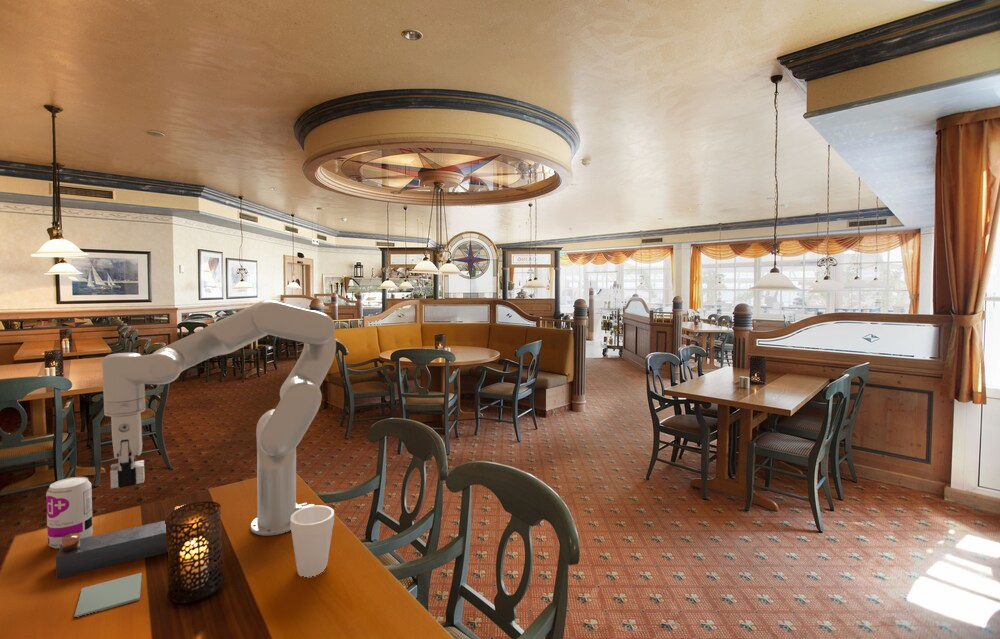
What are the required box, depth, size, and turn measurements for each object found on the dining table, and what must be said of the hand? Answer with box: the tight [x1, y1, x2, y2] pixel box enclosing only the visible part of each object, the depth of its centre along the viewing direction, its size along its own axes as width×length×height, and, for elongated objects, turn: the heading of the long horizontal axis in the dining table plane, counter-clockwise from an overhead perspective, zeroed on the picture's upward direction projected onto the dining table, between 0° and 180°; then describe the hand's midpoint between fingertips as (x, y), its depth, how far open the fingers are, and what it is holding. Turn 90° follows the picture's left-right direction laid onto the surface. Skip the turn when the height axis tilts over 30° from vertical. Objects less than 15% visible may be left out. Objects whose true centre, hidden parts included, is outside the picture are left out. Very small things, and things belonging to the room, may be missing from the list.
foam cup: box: [290, 504, 335, 578], centre depth 107 cm, size 10×9×13 cm
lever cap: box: [109, 459, 145, 489], centre depth 110 cm, size 6×4×5 cm
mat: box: [73, 572, 143, 617], centre depth 97 cm, size 10×10×1 cm
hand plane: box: [55, 504, 185, 580], centre depth 111 cm, size 24×7×9 cm, turn 126°
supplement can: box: [45, 476, 94, 550], centre depth 116 cm, size 8×8×15 cm
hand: (128, 481), depth 110 cm, fingers closed on lever cap, 4 cm apart
